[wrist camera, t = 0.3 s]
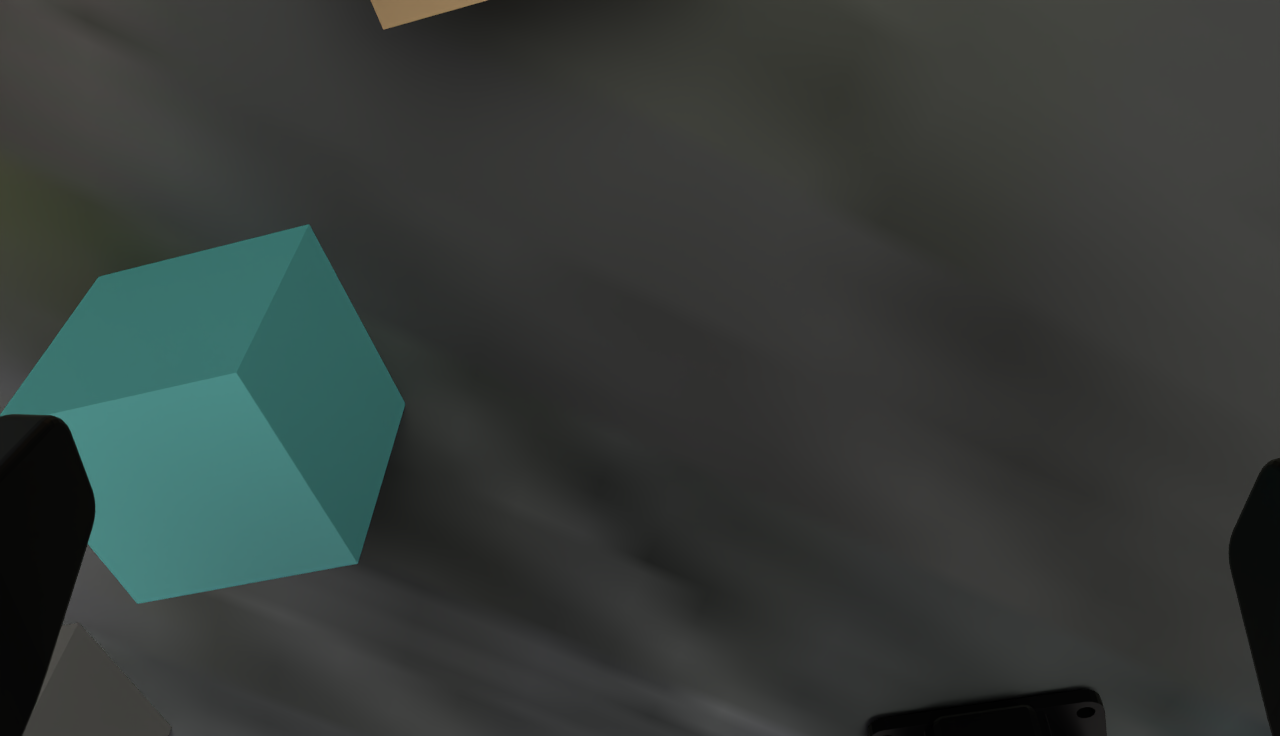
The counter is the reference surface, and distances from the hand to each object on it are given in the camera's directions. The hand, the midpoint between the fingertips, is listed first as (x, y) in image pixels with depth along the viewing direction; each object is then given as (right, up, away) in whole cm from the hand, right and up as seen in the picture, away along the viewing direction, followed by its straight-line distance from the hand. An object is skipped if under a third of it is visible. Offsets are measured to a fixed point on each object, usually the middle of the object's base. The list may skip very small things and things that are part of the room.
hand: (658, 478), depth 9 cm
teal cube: (-9, +1, +17) cm, 19 cm away
